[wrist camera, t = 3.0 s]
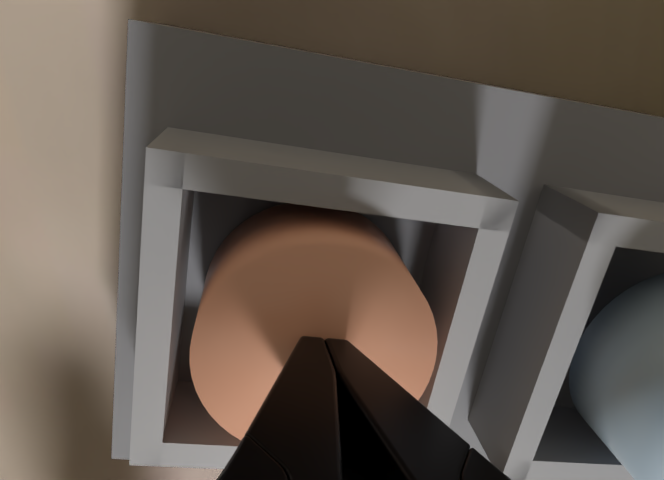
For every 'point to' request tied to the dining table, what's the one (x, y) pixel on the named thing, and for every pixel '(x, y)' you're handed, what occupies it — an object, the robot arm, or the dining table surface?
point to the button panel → (382, 229)
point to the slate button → (625, 378)
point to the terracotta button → (304, 306)
